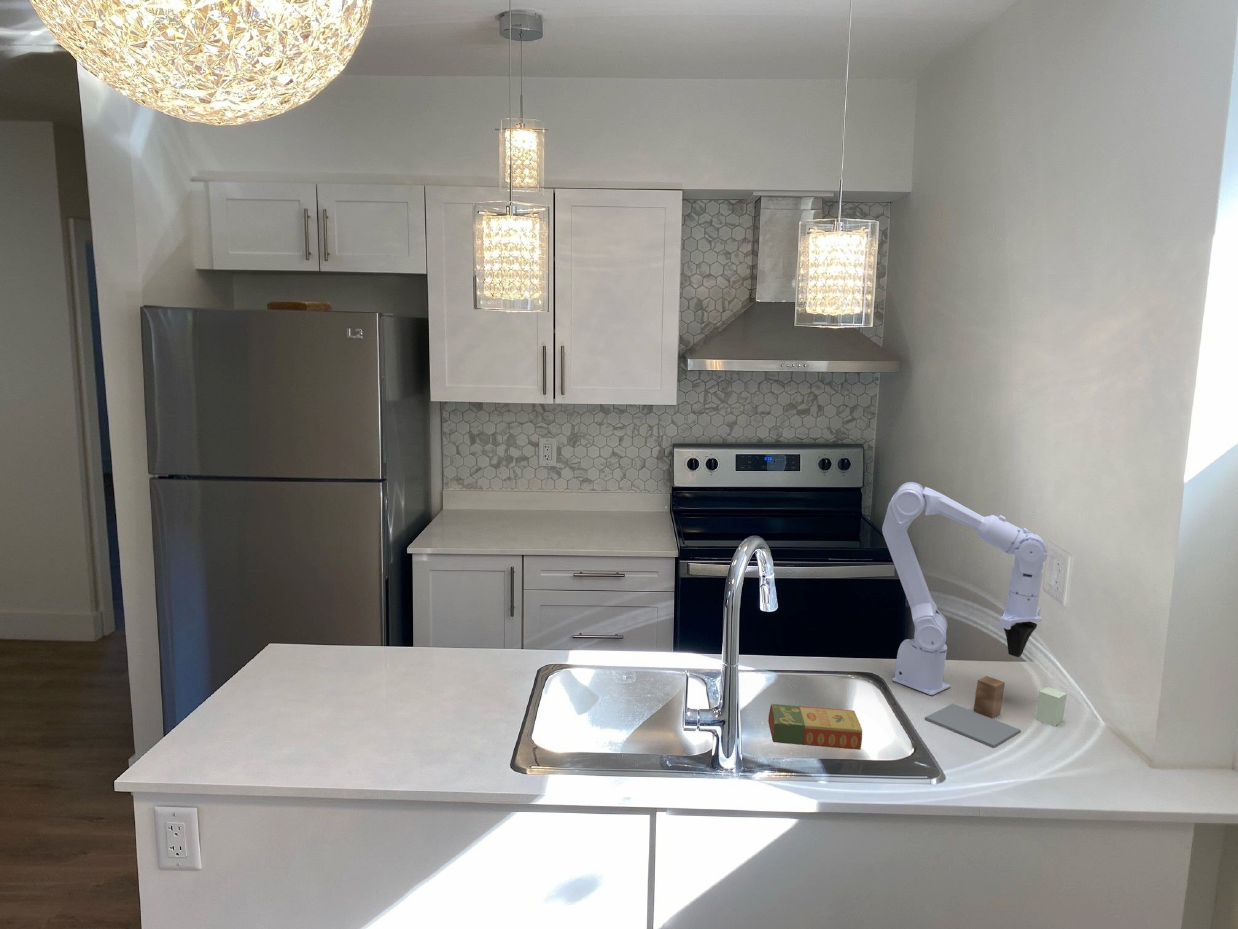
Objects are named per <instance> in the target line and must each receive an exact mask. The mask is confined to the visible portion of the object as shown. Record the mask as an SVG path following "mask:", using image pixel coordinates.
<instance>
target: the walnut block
mask: <svg viewBox="0 0 1238 929" xmlns="http://www.w3.org/2000/svg"><path fill="white" fill-rule="evenodd" d="M1005 683H1006V682H1005V681H1002V680H1000V679H997V678H994V677H991V676H988V675H985V676H983V677H981V678H980V679H979V678H978V679H977V682H976V688H975V690H976V691H975V698H974V705H973V711H974V712H976V713H979V714H981V715H984V716H987V717H989V718H992V719H993V718H994V719H995V717H996V718H997V717H999V716H1001V711H1002V706H1003V697H1004V690H1005Z"/></svg>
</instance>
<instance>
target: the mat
mask: <svg viewBox="0 0 1238 929" xmlns="http://www.w3.org/2000/svg"><path fill="white" fill-rule="evenodd" d="M924 720H925V721H927V722H930V723H932V724H935V725H937V726H939V727H943V728H945V729H947V730H949V731H952V732H954V733H957V734H959V735H961V736H963V737H967V738H969V739H971V740H973V741H976V742H979V743H981V744H983V745H985V746H988V747H991V748H994V749H995V748H996V747H997V746H1000V745H1002V744H1003V743H1005V742H1006V741H1008V740H1010V739H1011V738H1013V737H1015V736H1016V735H1018V734H1019V733H1021V730H1022V729H1020V728H1017V727H1015V726H1012V725H1010V724H1007V723H1004V722H1002V721H999V720H997V719H995V718H994V719H992V718H989V717H987V716H984V715H981V714H979V713H976V712H974V710H970V709H968V708H966V707H964V706H961V705H958V704H956V703H951V704H950V705H948V706H945V707H943V708H941V709H939V710H937V711H935V712H933V713H930V714H929V715H926V716H924Z"/></svg>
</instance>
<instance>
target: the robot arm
mask: <svg viewBox="0 0 1238 929" xmlns="http://www.w3.org/2000/svg"><path fill="white" fill-rule="evenodd" d="M923 511H924V512H925V514H924V516H933V515H935V516H936V515H942V516H944V517H946V518H948V519H950V520H953V521H955V522H957V523H959V524H962V525H964V527H968V528H970V529H972V530H975V531H976V533H977V536H978V539H979V540H981V541H983V542H985V543H986V544H988V545H990V546H992V547H994V548H996V549H997V550H1000V551H1002V552H1004V553H1006V554H1008V555H1014V560H1013V566H1012V568H1011V573H1010V581H1009V586H1008V594H1007V600H1006V606H1005V607H1006V608H1005V609H1004V611H1003V615H1002V616H1001V617H999V625H998V627H999V628H1002V629H1003V631H1004V635H1005V638H1006V643H1007V644H1006V645H1007V651H1008V655H1009V656H1012V657H1015V658H1019V657H1021V656H1022V655H1023V654H1024V653H1023V652H1024V651H1025V648H1026V645H1027V643H1028V641H1029V640H1030V637H1031V635H1032V634H1033V632H1034V631H1035V630H1036V629H1037V627H1038V624H1037V623H1039V622H1041V621H1042V619H1043V618H1042V617H1043V616H1042V617H1041V607H1039V606H1038V605H1039V598H1040V597H1039V596H1040V592H1041V586H1042V585H1041V584H1042V579H1043V572H1042V570H1043V569H1044V562H1045V561H1046V560H1047V558H1048V554H1047V547H1046V544H1045V541H1044V540H1043V538H1042V537H1041V536H1040V535H1038V533H1036V532H1035V531H1029V529H1028V528H1025V527H1023V528H1021V527H1019V526H1016V525H1015V524H1013V523H1010V522H1008V521H1007V519H1006V516H1004V515H1001V514H1000V515H999V516H996V514H995V515H994V514H990V515H987V516H983V515H981V514H979V513H977V512H976V511H973V510H972V509H970V508H968V507H966V506H964V505H962V504H961V503H959V502H957V501H956V500H954V499H951V497H948V496H946V495H945V494H943V493H941V492H939V491H937V490H935V489H932V488H931V487H927V486H922V485H921V484H920V483H917V482H915V481H914V482H913V481H909V482H908V481H907V482H905V483H903V484H901V485H900V486H899V487H898V488H897V490H896V492H895V493H894V494H893V496H892V498H891V500H890V501H889V503H888V506H887V510H886V514H885V515H884V516H885V517H884V520H883V524H882V528H881V531H882V535H883V538H884V541H885V543H886V545H887V549H888V551H889V553H890V556H891V560H892V562H893V564H894V567H895V569H896V572H897V573H896V574H897V575H898V578H899V580H900V581H899V582H900V583H901V586H902V588H903V591H904V594H905V597H906V599H907V601H908V605H909V607H910V608H909V609H910V611H911V617H912V622H913V624H914V636H913V637H914V638H912V639H910V638H907V639H904V640H903V641H902V642H901V643H900V645H899V648H898V650H897V655H896V663H895V670H894V671H895V673H894V677H893V678H892V681H893V682H895V683H899V684H901V685H904V686H906V687H909V688H912V689H914V690H917V691H919V692H921V693H925V694H926V695H929V696H934V695H936V694H939V693H941V692H943V691H945V690H947V689H949V688H951V684H949V683H946V682H944V674H945V667H946V659H947V651H948V645H947V644H946V642H947V630H948V620H947V619H946V617H945V616H944V615H943V613H941V612H940V611H939V610H938V606H937V604H936V602H935V601H934V599H933V598H932V596H931V593H930V590H929V587H928V585H927V582H926V578H925V577H924V574H923V571H922V568H921V566H920V563H919V560H918V558H917V555H916V553H915V550H914V547H913V544H912V542H911V540H910V536H909V534H908V531H907V530H908V529H909V528H910V526H911V523H912V522H913V521H914V520H915V519H916V518H918V517H919V515H921V514H922V513H923Z"/></svg>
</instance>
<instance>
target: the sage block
mask: <svg viewBox="0 0 1238 929" xmlns="http://www.w3.org/2000/svg"><path fill="white" fill-rule="evenodd" d="M1067 695H1068V694H1067V692H1064V691H1061V690H1058V689H1055V688H1052V687H1049V686H1047V687H1044V688H1042V689H1041V690H1039V693H1038V699H1037V704H1036V712H1035V718H1034V719H1035V720H1036V721H1039V722H1041V723H1044V724H1047V725H1050V726H1053V727H1057V725H1060V724H1061V723H1062V722H1063V720H1064V713H1065V707H1066V703H1067V697H1068V696H1067Z"/></svg>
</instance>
